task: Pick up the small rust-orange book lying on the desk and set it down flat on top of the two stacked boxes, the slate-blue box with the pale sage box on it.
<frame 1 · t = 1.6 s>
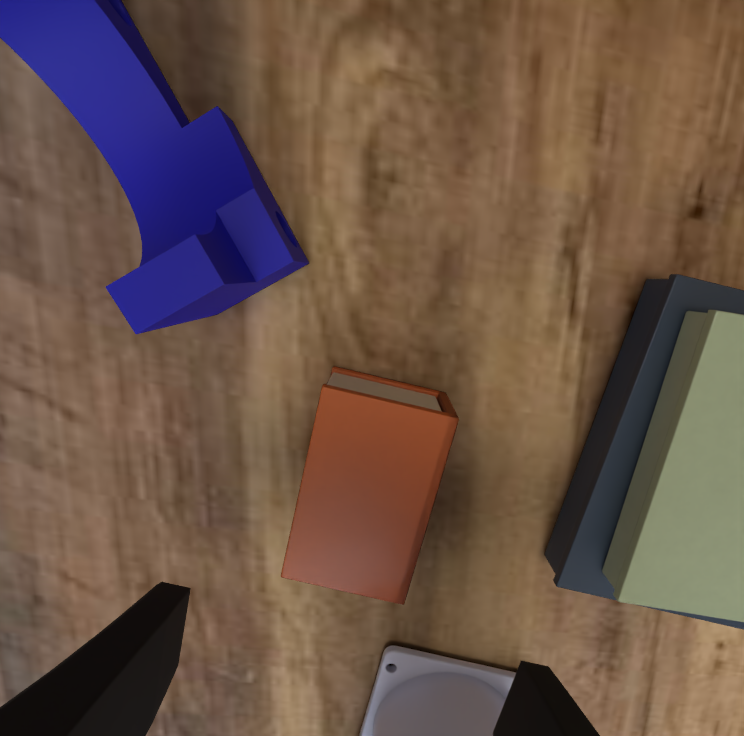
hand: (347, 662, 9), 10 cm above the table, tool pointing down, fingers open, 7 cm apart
blue curved piece: (186, 152, 17), on the table
book: (368, 462, 19), on the table
box stack: (700, 452, 19), on the table
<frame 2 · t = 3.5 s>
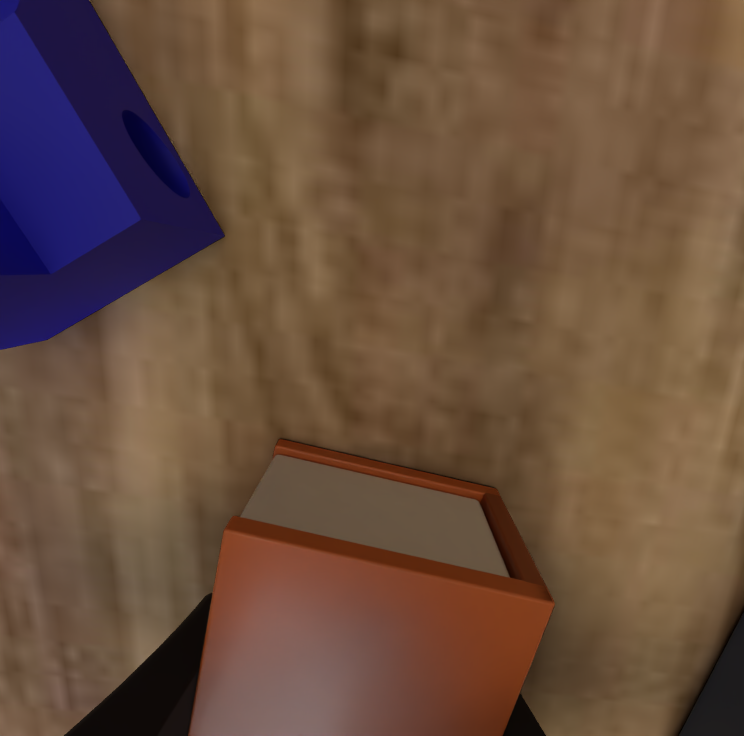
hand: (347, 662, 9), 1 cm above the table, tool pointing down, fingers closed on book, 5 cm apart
book: (349, 609, 10), on the table, touching gripper
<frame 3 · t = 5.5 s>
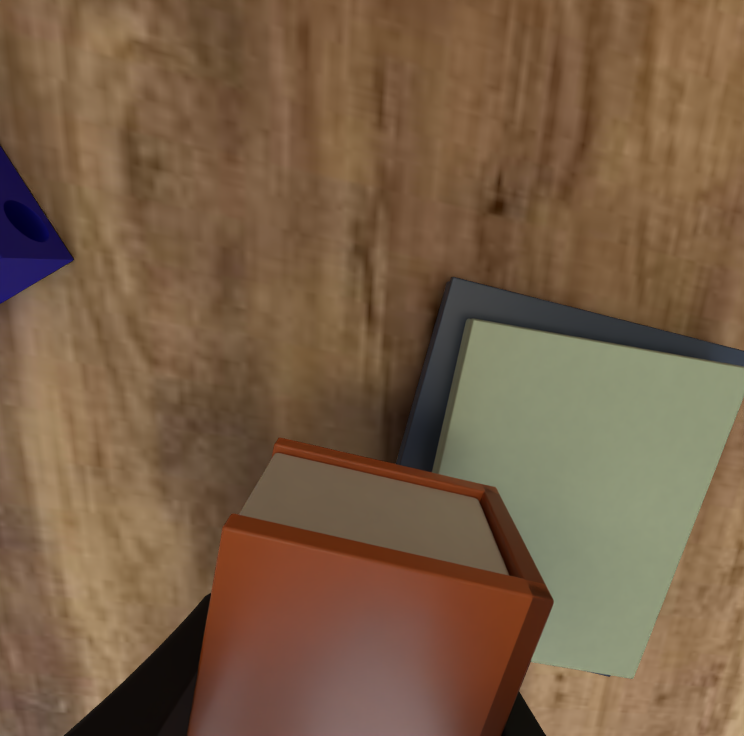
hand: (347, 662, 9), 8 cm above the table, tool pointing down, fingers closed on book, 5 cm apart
book: (349, 608, 10), point 7 cm above the table, touching gripper
box stack: (522, 472, 17), on the table
when the fingers open (5 cm above the table, at t = 7.6 s): book stays where it is, resting on box stack.
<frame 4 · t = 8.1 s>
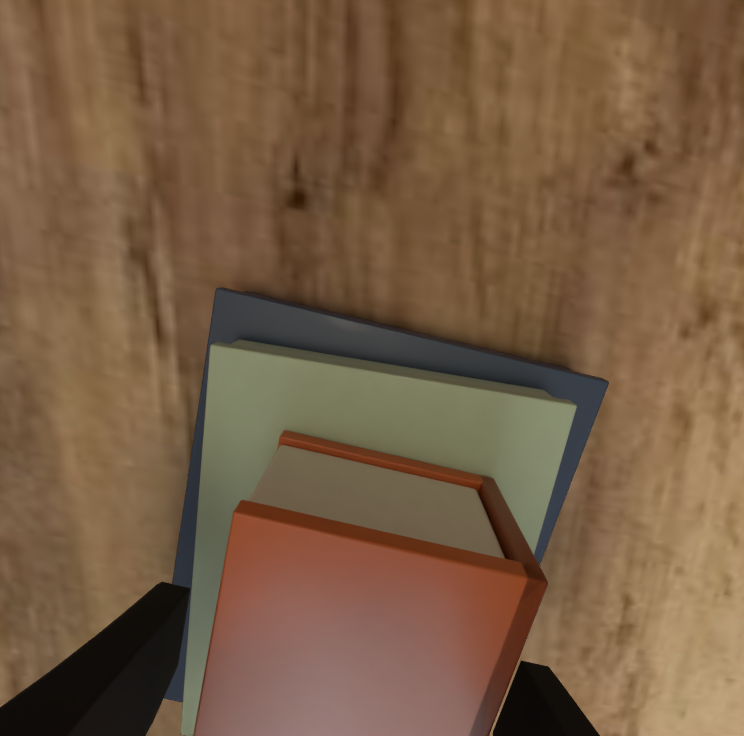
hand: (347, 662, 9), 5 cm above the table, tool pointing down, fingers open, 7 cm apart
book: (351, 596, 11), point 4 cm above the table, touching box stack
box stack: (360, 517, 14), on the table
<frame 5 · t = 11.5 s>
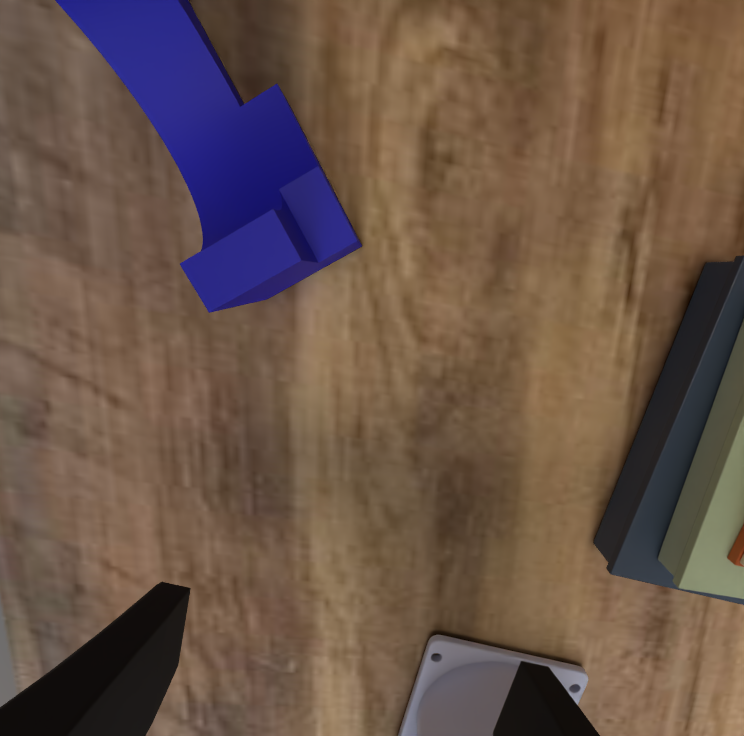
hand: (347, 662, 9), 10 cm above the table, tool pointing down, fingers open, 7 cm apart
blue curved piece: (238, 133, 17), on the table
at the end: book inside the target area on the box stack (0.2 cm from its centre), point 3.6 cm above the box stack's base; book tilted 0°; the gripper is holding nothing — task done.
